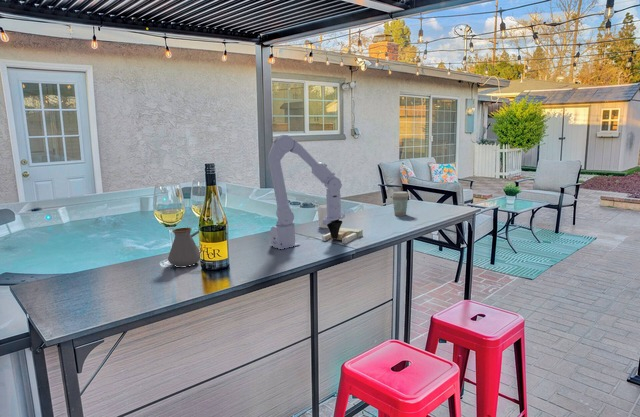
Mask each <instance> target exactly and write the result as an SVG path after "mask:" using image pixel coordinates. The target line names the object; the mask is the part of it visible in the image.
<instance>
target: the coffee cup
mask: <svg viewBox="0 0 640 417" xmlns="http://www.w3.org/2000/svg"><path fill="white" fill-rule="evenodd" d="M391 195H392V202H393V204H392V205H393V210H394V211H393V212H394V213H393V214H394V216H396V215H397V216H398V217H404V215H405V216H406V215H407V208H408V198H409V192H408V191H401V190H397V191H392V194H391Z"/></svg>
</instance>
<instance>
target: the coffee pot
mask: <svg viewBox="0 0 640 417" xmlns="http://www.w3.org/2000/svg"><path fill="white" fill-rule="evenodd" d="M192 230H193V229H192V228H191V227H179V228H174V229H173V230H172V232H173V233H174V239H173V242H172V246H171V248H170V251H169V254H168V257H167V261H168V262H169V264H170V265H172V264H173V265H172V266H174V265H176V266H189V265H193V264H195V263H197V264H198V263H199V261H200V260H201V259H200V253H201V251H200V249H199V247H198V245H197V244H196V243H195V240H194V239H193V237H194V236H195V237H196V235H198V234H200V233H199V230H196V232H193V233H192V234H191V232H192ZM199 251H200V252H199Z"/></svg>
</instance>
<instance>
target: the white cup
mask: <svg viewBox="0 0 640 417" xmlns="http://www.w3.org/2000/svg"><path fill="white" fill-rule="evenodd" d="M317 217H318V227H319V228H321V229H329V228H328V226H327V225H324V224H323V219H325V218H326V217H327V204H321V205H318V206H317Z"/></svg>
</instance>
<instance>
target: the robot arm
mask: <svg viewBox="0 0 640 417" xmlns="http://www.w3.org/2000/svg"><path fill="white" fill-rule="evenodd" d="M272 142H273V143H272V146H271V148H270V150H269V153H268V155H267V161H268V162H267V163H268V167H269V171H270V176H271V182H272V186H273V191H274V196H275V201H276V206H277V207H276V212H275V214H276V215H275V216H276V217H277V221H276V223H275V224H276V225H274V226H272V227H270V230H269V231H270V232H269V233H270V234H269V236H270V244H269V246H270V247H272V246H273V247H272V248H275V249H277V248H278V249H277V250H280V249H281V250H284V248H285V249H290V248H292V247H293V246H294V247H297V246H300V244H301V243H298V242H296V231H295V230H296V228H295V222H294V220H295V214H294V212H293V211H292V209H291V207H290V202H289V199H288V193H287V189H286V184H285V178H284V173H283V169H282V164H281V160H282V159H283V158H284V157H285V155H286V154H287V153H290V152H291V153H293V154H296V155H298V156H299V157H300V158H301V160H303V162H305V163H306V164H307V165H308V166H309V167H310V169H311V173H312V174H313V175H314V176H315V177H316V178H317V179H318V181H320V182H321V183H322V184H324V187H325V188H326V196H325V198H326V205H327V217H326V218H325V219H323V224H324V225H327V226H328V228H327V229H328V231H329V233H330V234H331V237H332V238H333V239H335V240H338V239H337V238H338V233H339V229H340V228H341V226H342V225H343V220H342V219H345V217H346V214H345V213H343V212H342V210H341V209H342V207H341V206H342V205H341V203H342V202H341V201H342V200H341V189H342V187H343V184H342V181H341V179H340V178H338V177H337V176H335V175H336V173H335V172H333V171H331V170H330V169H329V168H328V164H326V163H325V162H324V163H323V162H321V161H319V162H318V161H317V160H316V159H315V158H314V157H313V156H312V155H311V154H310V153H309V152H308V151H307V150H306V149H305V148H304V146H302V144H301V143H299V142H298V141H297V140H295V139H294V138H292V136H290V135H288V134H281V135H278V136H277V137H276V138H275V140H273V141H272ZM289 247H290V248H289Z"/></svg>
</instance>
